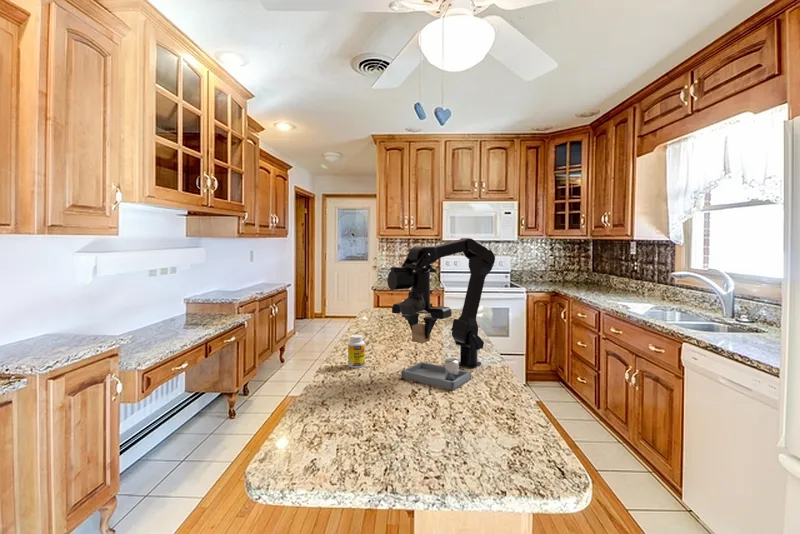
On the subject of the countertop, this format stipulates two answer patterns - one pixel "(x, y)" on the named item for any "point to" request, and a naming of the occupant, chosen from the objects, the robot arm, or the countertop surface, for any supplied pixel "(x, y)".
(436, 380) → the parts tray
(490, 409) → the countertop surface
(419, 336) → the walnut block
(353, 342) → the supplement bottle
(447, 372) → the grey peg
